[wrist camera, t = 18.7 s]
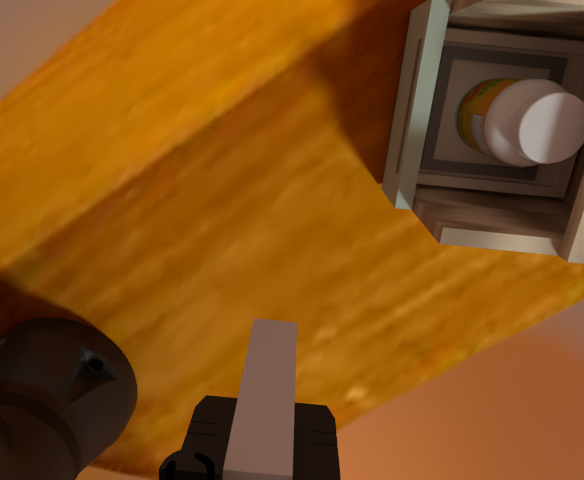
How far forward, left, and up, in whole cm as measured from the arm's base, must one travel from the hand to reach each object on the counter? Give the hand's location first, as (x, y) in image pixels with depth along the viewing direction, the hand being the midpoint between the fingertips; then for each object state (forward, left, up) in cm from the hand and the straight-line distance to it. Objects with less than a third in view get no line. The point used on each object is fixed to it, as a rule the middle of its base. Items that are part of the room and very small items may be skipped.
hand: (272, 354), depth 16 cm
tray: (+15, +8, -24) cm, 29 cm away
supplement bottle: (+15, +8, -23) cm, 28 cm away
